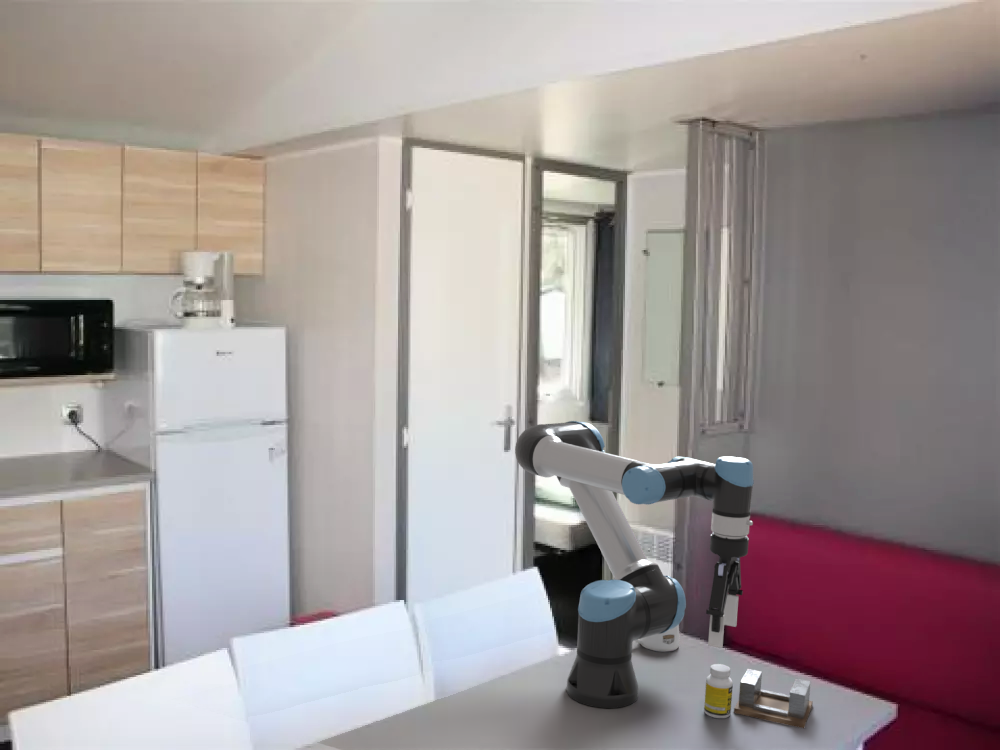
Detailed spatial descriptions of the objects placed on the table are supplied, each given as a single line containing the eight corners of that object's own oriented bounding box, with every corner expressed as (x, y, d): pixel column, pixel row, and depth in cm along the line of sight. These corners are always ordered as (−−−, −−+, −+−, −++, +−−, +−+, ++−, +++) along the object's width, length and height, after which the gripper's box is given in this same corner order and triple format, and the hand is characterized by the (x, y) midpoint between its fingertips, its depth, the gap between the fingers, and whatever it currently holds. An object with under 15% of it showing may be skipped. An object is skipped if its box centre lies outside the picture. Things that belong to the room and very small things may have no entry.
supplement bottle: (731, 720, 197) (734, 674, 197) (703, 717, 199) (706, 671, 198) (730, 709, 203) (733, 664, 202) (703, 706, 204) (706, 661, 203)
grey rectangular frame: (737, 706, 202) (739, 683, 202) (746, 689, 211) (748, 667, 210) (802, 720, 197) (804, 696, 196) (809, 703, 205) (811, 680, 205)
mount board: (733, 712, 201) (734, 708, 201) (745, 691, 212) (745, 687, 212) (804, 728, 195) (804, 723, 195) (812, 705, 206) (812, 701, 206)
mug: (666, 636, 244) (668, 613, 243) (686, 650, 234) (688, 626, 234) (623, 640, 240) (625, 616, 239) (642, 655, 230) (643, 630, 230)
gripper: (736, 551, 184) (728, 659, 186) (759, 523, 207) (752, 620, 209) (696, 545, 187) (689, 652, 189) (724, 518, 210) (717, 613, 212)
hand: (722, 635), depth 199 cm, fingers open, 13 cm apart
